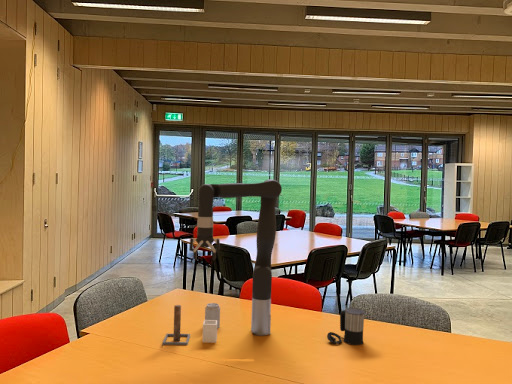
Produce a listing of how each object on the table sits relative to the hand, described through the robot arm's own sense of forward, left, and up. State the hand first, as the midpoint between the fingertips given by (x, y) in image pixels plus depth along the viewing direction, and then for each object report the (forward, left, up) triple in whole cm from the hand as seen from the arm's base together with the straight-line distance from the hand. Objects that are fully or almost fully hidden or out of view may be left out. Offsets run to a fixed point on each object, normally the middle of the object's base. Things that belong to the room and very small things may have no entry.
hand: (204, 259), depth 210 cm
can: (-4, -9, -36) cm, 38 cm away
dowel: (+11, +10, -35) cm, 38 cm away
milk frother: (-67, +6, -36) cm, 77 cm away
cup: (-4, +9, -36) cm, 37 cm away
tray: (+11, +10, -36) cm, 39 cm away
